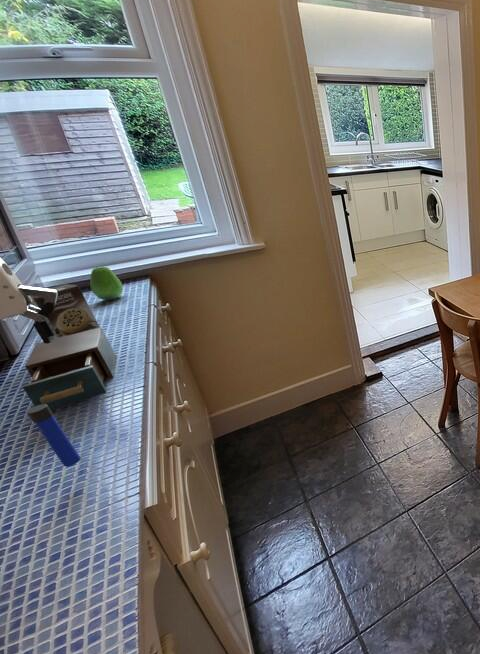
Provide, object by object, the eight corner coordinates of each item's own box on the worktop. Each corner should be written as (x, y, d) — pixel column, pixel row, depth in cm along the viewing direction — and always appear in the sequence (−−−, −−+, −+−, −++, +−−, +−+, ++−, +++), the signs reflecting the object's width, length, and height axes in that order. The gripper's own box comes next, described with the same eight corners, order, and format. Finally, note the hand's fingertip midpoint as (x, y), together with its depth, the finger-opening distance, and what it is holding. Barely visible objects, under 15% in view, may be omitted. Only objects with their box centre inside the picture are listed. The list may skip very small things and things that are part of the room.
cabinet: (114, 377, 98) (97, 346, 95) (45, 398, 92) (24, 366, 88) (116, 355, 108) (101, 327, 104) (54, 373, 101) (36, 343, 98)
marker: (66, 468, 72) (30, 414, 67) (60, 464, 73) (23, 411, 68) (84, 459, 74) (49, 405, 69) (78, 455, 75) (43, 402, 70)
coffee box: (66, 352, 111) (34, 298, 104) (53, 349, 113) (20, 295, 106) (106, 336, 118) (79, 285, 111) (93, 333, 120) (65, 283, 114)
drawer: (105, 401, 88) (90, 375, 85) (36, 424, 82) (17, 396, 79) (109, 369, 100) (96, 345, 97) (49, 387, 94) (33, 362, 91)
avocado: (128, 298, 145) (113, 266, 140) (99, 305, 140) (82, 272, 135) (125, 292, 151) (111, 261, 145) (97, 299, 145) (80, 267, 140)
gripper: (33, 236, 69) (82, 326, 76) (-137, 261, 60) (-63, 360, 67) (23, 245, 64) (76, 341, 71) (-165, 273, 54) (-81, 380, 61)
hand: (9, 350), depth 69 cm, fingers open, 9 cm apart
